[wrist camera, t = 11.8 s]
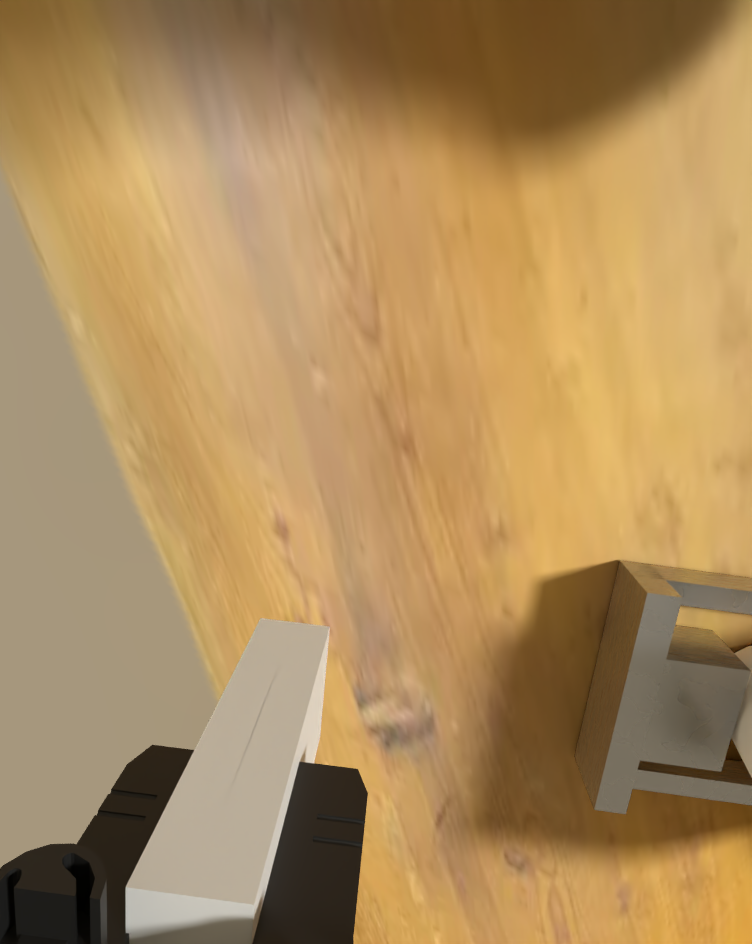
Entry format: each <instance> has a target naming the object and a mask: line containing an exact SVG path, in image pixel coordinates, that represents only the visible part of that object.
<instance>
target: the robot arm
mask: <svg viewBox="0 0 752 944" xmlns="http://www.w3.org/2000/svg"><path fill="white" fill-rule="evenodd" d="M329 630H330V627H329V626H321V625H313V624H304V623H296V622H288V621H280V620H271V619H263V618H260V620H259V622H258V624H257V626H256V628H255V630H254V632H253V634H252V636H251V638H250V640H249V642H248V644H247V646H246V648H245V650H244V652H243V654H242V656H241V658H240V660H239V662H238V664H237V666H236V668H235V670H234V672H233V674H232V676H231V678H230V680H229V682H228V684H227V686H226V688H225V690H224V692H223V694H222V696H221V698H220V700H219V702H218V704H217V706H216V708H215V710H214V712H213V714H212V716H211V718H210V720H209V722H208V724H207V726H206V728H205V730H204V732H203V734H202V736H201V738H200V740H199V742H198V744H197V746H196V748H195V750H188V749H181V748H173V747H165V746H157V745H152V746H150V747H149V748H148V749H146V750H145V751H144V752H143V753H142V754H140V755H139V756H137V757H136V758H135V759H134V760H132V761H131V762H130V763H128V764H127V765H126V767H125V769H124V770H123V772H122V774H121V775H120V777H119V778H118V780H117V781H116V783H115V785H114V786H113V788H112V789H111V793H110V794H108V796H107V797H106V799H105V800H104V802H103V803H102V805H101V807H100V808H99V810H98V814H97V816H96V815H95V816H94V818H93V819H92V821H91V822H90V824H89V825H88V827H87V829H86V830H85V832H84V833H83V835H82V837H81V838H80V840H79V841H78V843H77V844H50V845H46V846H43V847H40V848H37V849H34V850H30V851H27V852H25V853H23V854H22V855H20V856H18V857H17V858H15V859H13V860H12V861H10V862H8V863H6V864H5V865H3V866H2V867H1V868H0V944H353V934H354V924H355V914H356V904H357V894H358V884H359V874H360V864H361V854H362V844H363V835H364V824H365V815H366V805H367V795H368V793H367V790H366V788H365V786H364V783H363V781H362V778H361V776H360V773H359V771H358V769H353V768H345V767H338V766H330V765H322V764H314V761H315V756H316V752H317V748H318V743H319V739H320V732H321V720H322V709H323V698H324V686H325V675H326V664H327V653H328V641H329Z"/></svg>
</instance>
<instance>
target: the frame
mask: <svg viewBox="0 0 752 944" xmlns="http://www.w3.org/2000/svg"><path fill="white" fill-rule="evenodd" d="M680 605H683V606H691V607H698V608H706V609H713V610H721V611H728V612H735V613H743V614H750V615H752V578H748V577H740V576H733V575H725V574H718V573H710V572H703V571H695V570H688V569H680V568H673V567H665V566H658V565H650V564H643V563H635V562H628V561H620V562H619V567H618V571H617V575H616V580H615V584H614V588H613V593H612V597H611V601H610V606H609V610H608V614H607V619H606V623H605V627H604V632H603V636H602V640H601V645H600V649H599V653H598V658H597V662H596V666H595V671H594V675H593V679H592V684H591V688H590V692H589V697H588V701H587V705H586V709H585V714H584V718H583V722H582V727H581V731H580V735H579V740H578V744H577V748H576V753H575V759H576V762H577V765H578V767H579V770H580V773H581V775H582V778H583V781H584V784H585V786H586V789H587V792H588V794H589V797H590V800H591V802H592V805H593V808H594V810H599V811H606V812H613V813H620V814H626V812H627V808H628V804H629V800H630V796H631V793H632V789H638V790H645V791H652V792H660V793H667V794H674V795H681V796H688V797H695V798H702V799H709V800H716V801H723V802H731V803H738V804H745V805H752V778H751V776H750V774H749V772H748V770H747V768H746V766H745V764H744V762H743V761H736V760H729V759H725V757H726V754H727V750H728V747H729V744H730V740H731V737H732V734H733V730H734V727H735V724H736V720H737V717H738V713H739V710H740V707H741V703H742V700H743V697H744V693H745V690H746V687H747V683H748V680H749V677H750V673H751V670H750V669H749V668H748V667H747V666H746V665H745V664H744V663H743V662H742V661H741V660H740V659H739V658H738V657H737V656H736V655H735V654H734V653H733V652H732V650H731V649H730V648H729V647H728V646H727V645H726V644H725V643H724V642H723V641H722V640H721V639H720V638H719V637H718V636H717V635H716V634H715V633H714V632H713V631H712V630H706V629H699V628H691V627H684V626H677V625H675V624H676V620H677V616H678V612H679V608H680Z"/></svg>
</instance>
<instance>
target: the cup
mask: <svg viewBox="0 0 752 944" xmlns="http://www.w3.org/2000/svg"><path fill="white" fill-rule="evenodd" d="M734 654H735V655H736V656H737V657H738V658H739V659H740V660H741V661H742V662H743V663H744V664H745V665H746V666H747V667H748V668H749V669H750V670H751V673H750V677H749V680H748V683H747V687H746V690H745V693H744V697H743V700H742V703H741V707H740V710H739V713H738V717H737V720H736V724H735V727H734V730H733V734H732V737H731V738H732V740H733V742H734V744H735V746H736V748H737V750H738V752H739V754H740V756H741V758H742V760H743V762H744V764H745V766H746V768H747V770H748V772H749V774H750V776H751V778H752V645H751V646H748V647H746V648H743V649H741V650H739V651H737V652H736V653H734Z"/></svg>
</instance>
